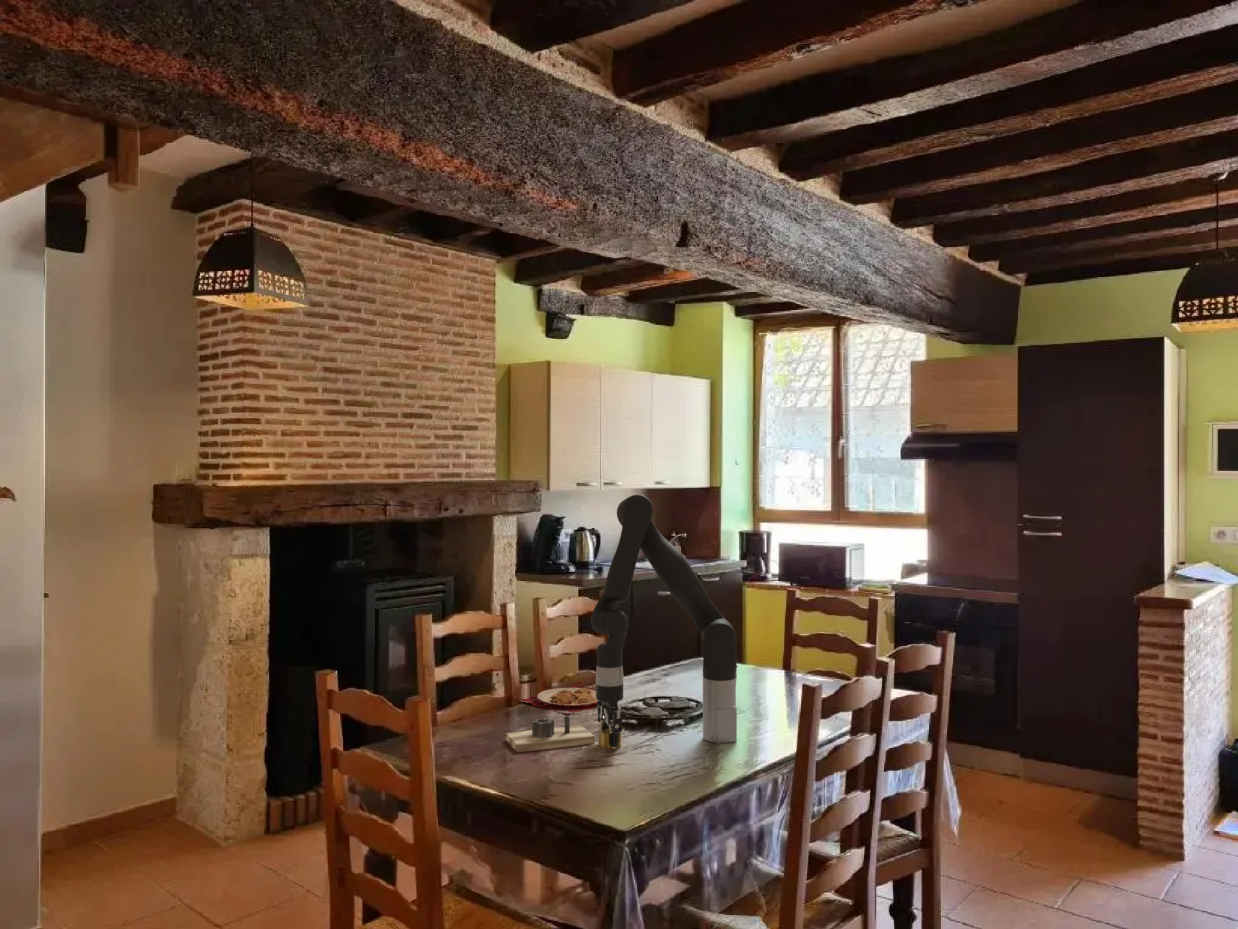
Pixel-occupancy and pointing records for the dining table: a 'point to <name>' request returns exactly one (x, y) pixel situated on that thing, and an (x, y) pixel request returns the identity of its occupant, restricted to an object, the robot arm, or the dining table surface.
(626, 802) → the dining table surface
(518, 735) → the gear board
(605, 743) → the brass gear
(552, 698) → the plate with food
